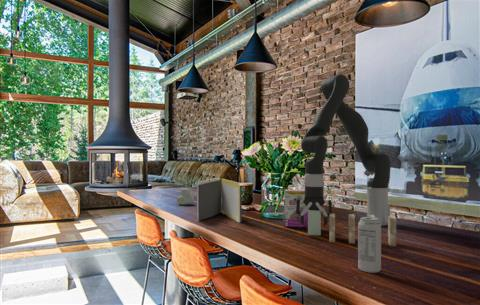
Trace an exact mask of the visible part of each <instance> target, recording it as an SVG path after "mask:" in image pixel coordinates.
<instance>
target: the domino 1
mask: <svg viewBox="0 0 480 305" xmlns="http://www.w3.org/2000/svg"><path fill="white" fill-rule="evenodd" d="M321 215H322V212H321V211H320V210H318V211H316V210H308V228H307V235H309V236H322V234H321V233H322V232H321V231H322V228H321V227H322V221H321V219H322V216H321Z"/></svg>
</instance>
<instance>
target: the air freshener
mask: <svg viewBox="0 0 480 305" xmlns="http://www.w3.org/2000/svg"><path fill="white" fill-rule="evenodd" d="M194 201H195V198H194V197H193V195H191V189H190V188H180V195H179V196H178V197H177V198H176V202H177V204H179V205H181V206H189V205H192V204H193V203H194Z"/></svg>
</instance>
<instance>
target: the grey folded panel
mask: <svg viewBox="0 0 480 305" xmlns="http://www.w3.org/2000/svg"><path fill="white" fill-rule="evenodd" d="M196 193H197V194H196V196H197V197H196V199H197V200H196V201H197V202H196V207H197V208H196V209H197V213H196V214H197V216H196V217H197V222H200V221H202V220H206V219H209V218H212V217H214V216H216V215H218V214H220V213H222V214H223V215H224V214H225V216H226V215H227V217H228V218H230V219H232V220H234V221H236V222H237V223H238V224H239V223H242V222H243V220H242V219H243V218H242V216H243V215H242V214H243V213H242V212H243V211H242V208H243V206H242V202H243V201H242V185H241V184H240V182H237V181H234V180H229V179H226V178H220V177H213V178H210V179H209V178H208V179H203V180H198V181H197V183H196Z"/></svg>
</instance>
